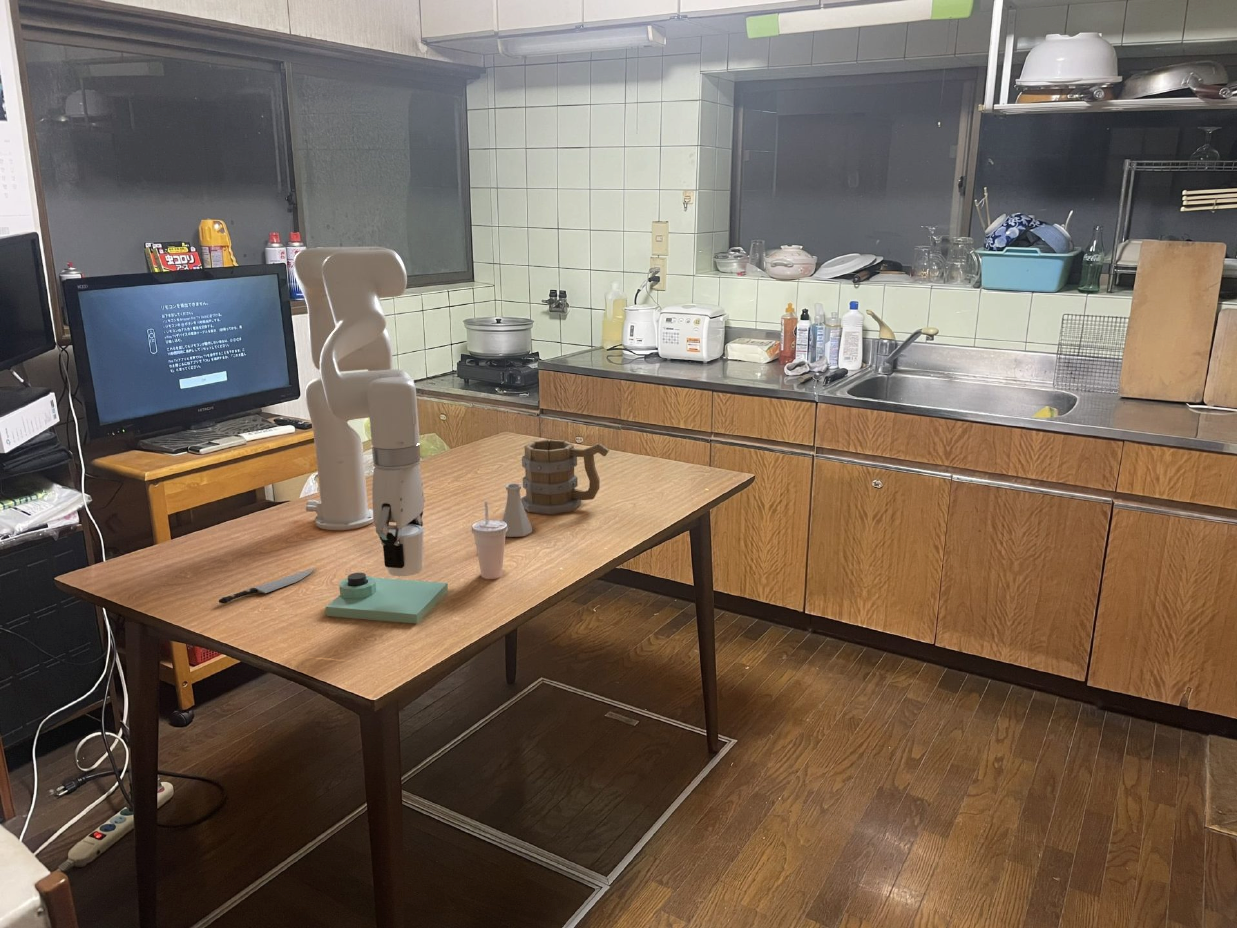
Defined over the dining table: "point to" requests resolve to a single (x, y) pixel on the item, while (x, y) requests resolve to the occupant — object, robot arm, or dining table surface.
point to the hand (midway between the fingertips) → (404, 557)
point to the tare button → (357, 579)
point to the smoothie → (490, 545)
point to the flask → (515, 513)
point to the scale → (387, 599)
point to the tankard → (557, 476)
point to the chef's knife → (268, 586)
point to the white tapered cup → (410, 550)
